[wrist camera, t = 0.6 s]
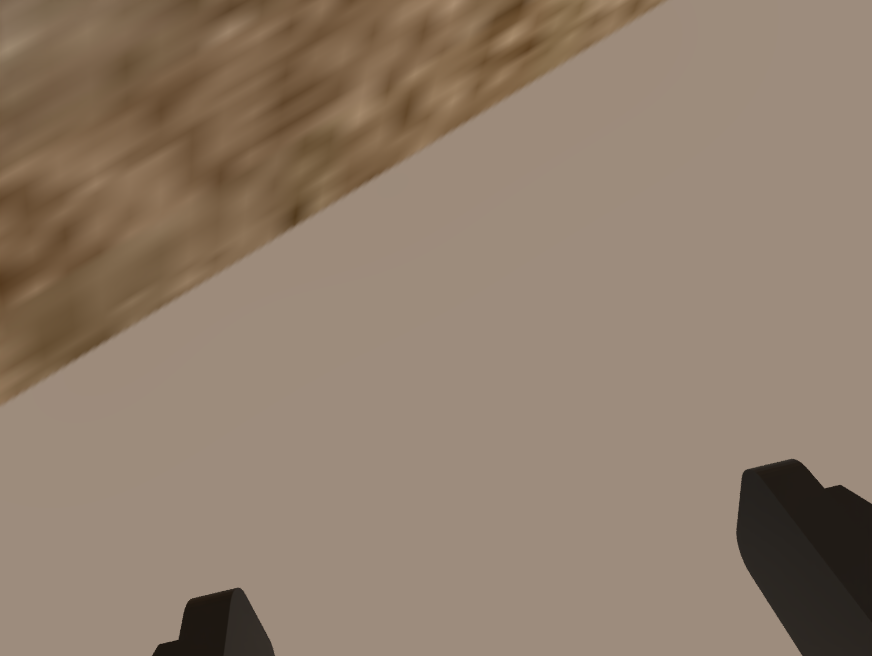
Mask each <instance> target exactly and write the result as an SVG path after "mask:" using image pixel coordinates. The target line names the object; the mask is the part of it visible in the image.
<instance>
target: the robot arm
mask: <svg viewBox="0 0 872 656" xmlns="http://www.w3.org/2000/svg"><path fill="white" fill-rule="evenodd" d="M736 534H737V542H738V546H739V550H740V553H741V556H742V559H743V561H744V563H745V565H746V567H747V569H748V571H749V572H750V574H751V576H752V577H753V579H754V580H755V582H756V584H757V585H758V587H759V588H760V590H761V592H762V593H763V595H764V596H765V598H766V599H767V601H768V603H769V604H770V606H771V607H772V609H773V610H774V612H775V613H776V615H777V617H778V618H779V620H780V621H781V623H782V624H783V626H784V628H785V629H786V631H787V632H788V634H789V635H790V637H791V638H792V640H793V642H794V643H795V645H796V646H797V648H798V649H799V651H800V652H801V654H802V656H872V504H871V503H869V502H868V501H866V500H865V499H863V498H861V497H860V496H858V495H856V494H855V493H853V492H852V491H850V490H848V489H846V488H845V487H843V486H842V485H838V486H833V487H829V488H825V489H824V487H823V486H822V485H821V484H820V483H819V482H818V480H817V479H816V478H815V477H814V476H813V475H812V473H811V472H810V471H809V470H808V469H807V468H806V467H805V466H804V465H803V464H802V463H801V462H799V461H798V460H795V459H789V460H785V461H781V462H777V463H773V464H768V465H764V466H760V467H756V468H751V469H747V470H745V471H744V473H743V475H742V481H741V491H740V501H739V511H738V520H737V531H736ZM152 656H275V655H274V651H273V647H272V644H271V642H270V640H269V638H268V636H267V634H266V632H265V630H264V628H263V626H262V625H261V623H260V621H259V619H258V617H257V615H256V613H255V611H254V610H253V608H252V606H251V604H250V602H249V600H248V598H247V597H246V595H245V593H244V591H243V590H242V589H241V588H234V589H230V590H226V591H222V592H218V593H213V594H209V595H205V596H201V597H196V598H192V599H190V600H189V601H188V603H187V605H186V607H185V610H184V614H183V620H182V625H181V630H180V635H179V640H176V641H172V642H167V643H163V644H159V645H158V647H157V648H156V650H155V652H154V653H153V655H152Z"/></svg>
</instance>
